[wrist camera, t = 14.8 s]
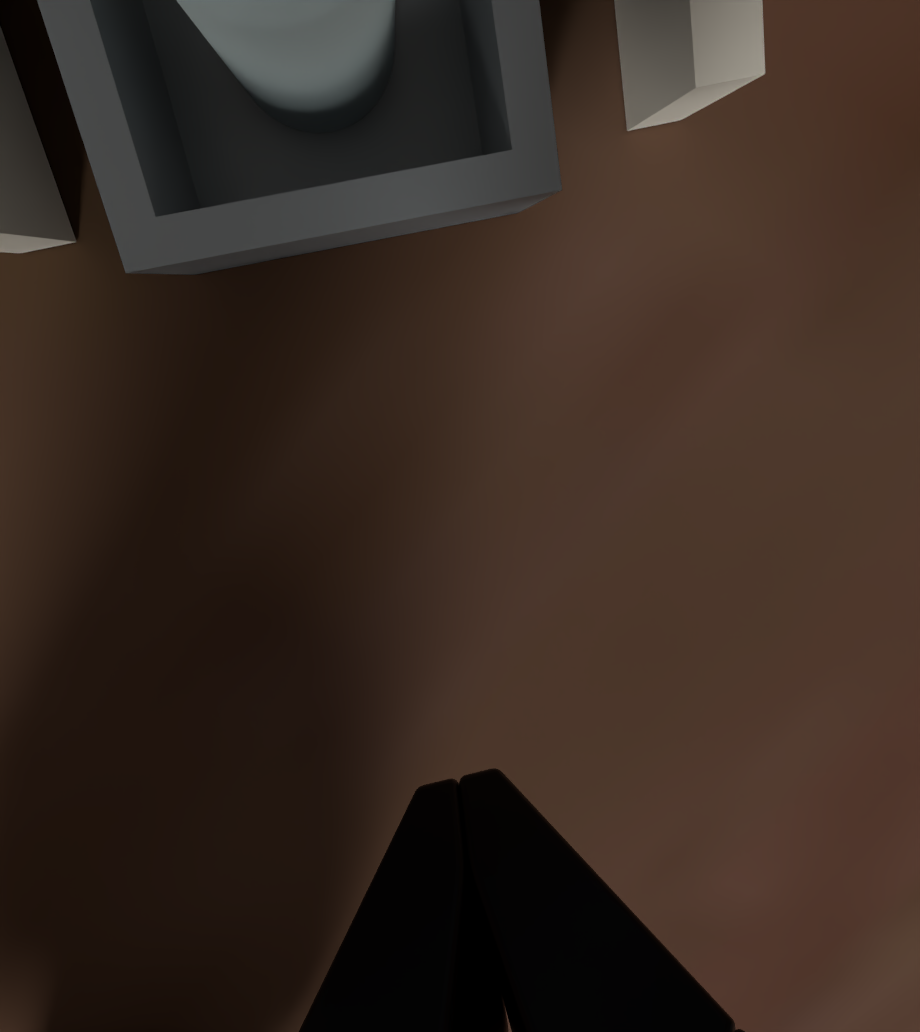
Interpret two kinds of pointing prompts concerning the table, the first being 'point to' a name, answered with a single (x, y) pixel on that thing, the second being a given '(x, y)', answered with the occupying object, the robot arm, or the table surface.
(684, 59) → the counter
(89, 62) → the tray
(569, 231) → the table surface
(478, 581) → the table surface
